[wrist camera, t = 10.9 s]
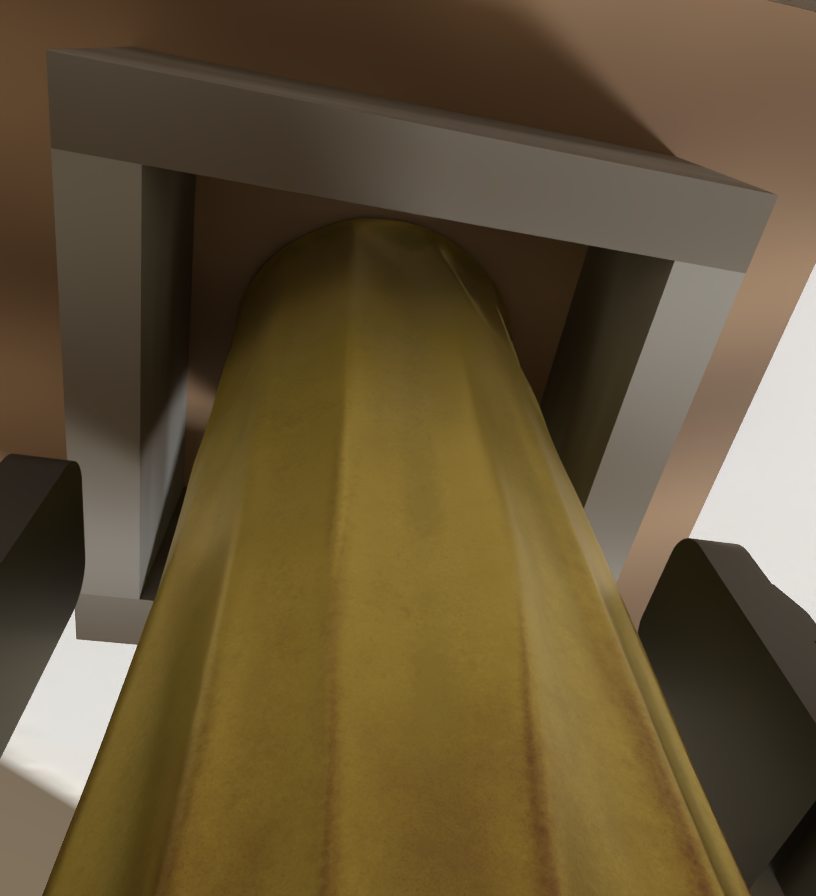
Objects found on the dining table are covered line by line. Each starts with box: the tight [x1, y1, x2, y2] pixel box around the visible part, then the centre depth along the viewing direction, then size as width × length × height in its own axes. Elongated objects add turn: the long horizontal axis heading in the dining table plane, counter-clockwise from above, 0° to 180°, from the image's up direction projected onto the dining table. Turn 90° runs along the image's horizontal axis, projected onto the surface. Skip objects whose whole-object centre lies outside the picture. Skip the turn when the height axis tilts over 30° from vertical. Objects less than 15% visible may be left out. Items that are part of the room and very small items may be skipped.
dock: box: [0, 0, 816, 645], centre depth 15 cm, size 16×18×6 cm
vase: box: [42, 218, 752, 896], centre depth 10 cm, size 6×6×14 cm
